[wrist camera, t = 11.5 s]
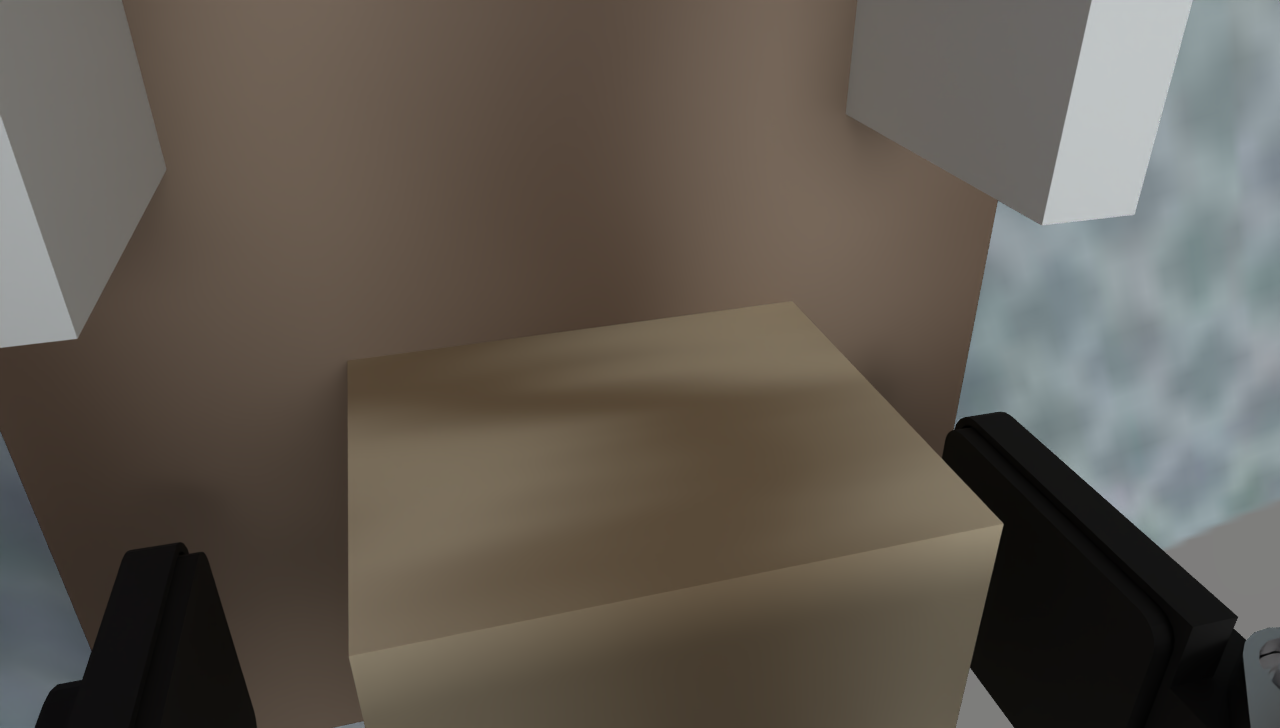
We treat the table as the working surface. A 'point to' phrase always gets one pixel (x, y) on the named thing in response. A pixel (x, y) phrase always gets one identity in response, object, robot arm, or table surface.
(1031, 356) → the table surface
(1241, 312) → the table surface
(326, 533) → the channel board
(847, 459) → the maple block
